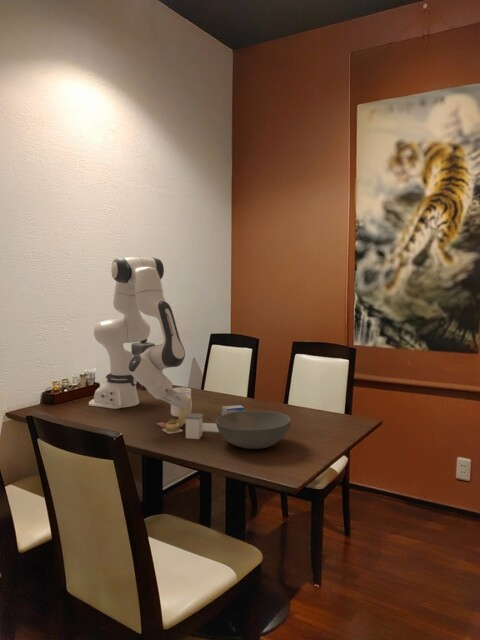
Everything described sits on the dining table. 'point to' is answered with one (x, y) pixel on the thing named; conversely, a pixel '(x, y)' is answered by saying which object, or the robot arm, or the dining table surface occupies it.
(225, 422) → the bowl
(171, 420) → the gold angular piece
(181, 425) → the marks
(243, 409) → the medicine box
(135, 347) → the red canister
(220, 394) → the dining table surface
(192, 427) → the grey rectangular block
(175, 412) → the mug
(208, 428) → the mat
